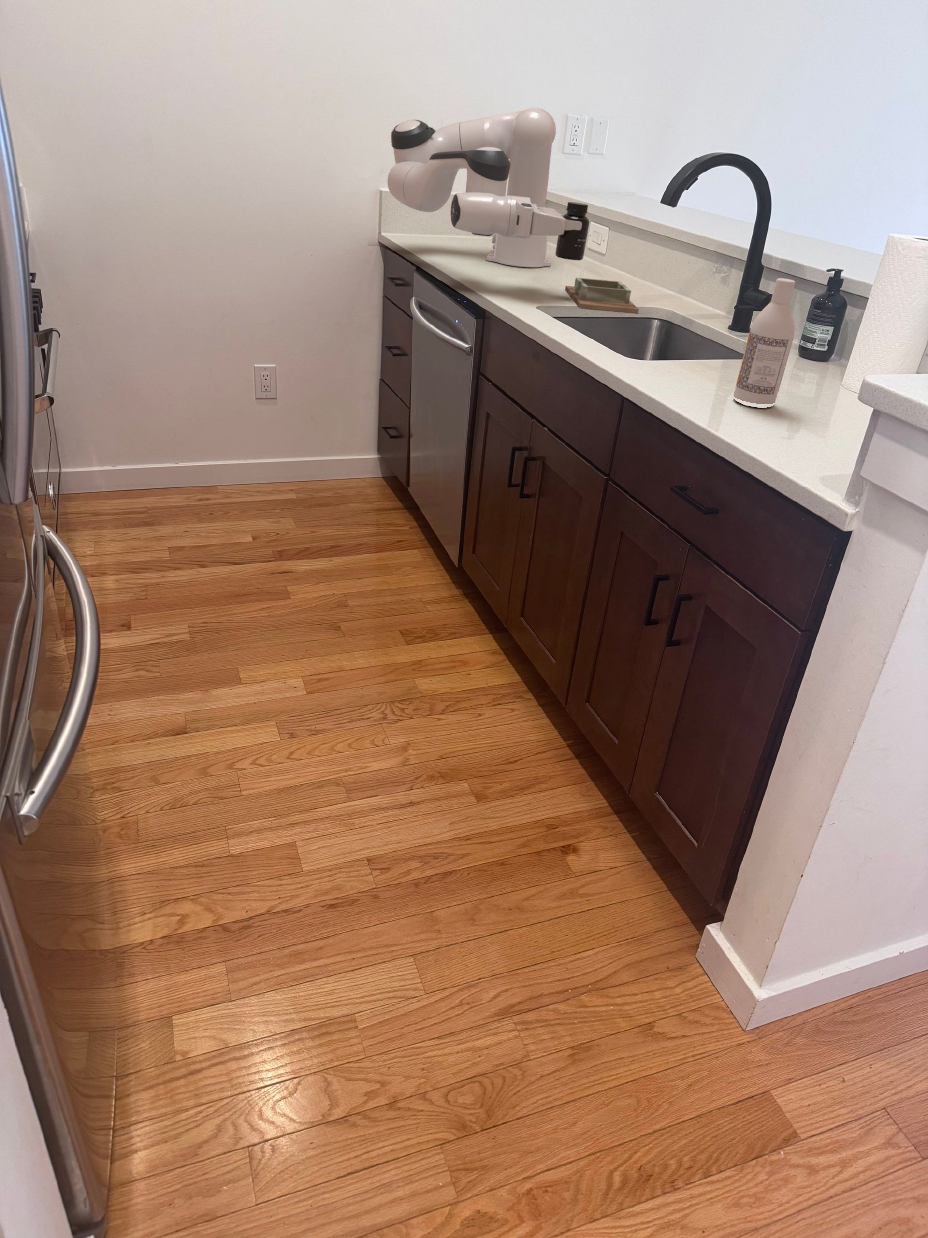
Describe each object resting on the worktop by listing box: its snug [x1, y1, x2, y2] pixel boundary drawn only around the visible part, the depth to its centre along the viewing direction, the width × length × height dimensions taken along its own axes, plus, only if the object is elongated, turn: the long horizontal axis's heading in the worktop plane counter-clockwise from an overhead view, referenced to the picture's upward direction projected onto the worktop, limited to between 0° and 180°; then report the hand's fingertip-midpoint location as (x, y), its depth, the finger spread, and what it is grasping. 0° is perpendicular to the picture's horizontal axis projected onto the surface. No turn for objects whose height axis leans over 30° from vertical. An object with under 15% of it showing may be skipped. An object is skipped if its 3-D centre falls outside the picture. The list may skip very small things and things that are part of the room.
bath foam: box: [733, 277, 796, 404], centre depth 144 cm, size 7×7×20 cm
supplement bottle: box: [554, 201, 590, 261], centre depth 207 cm, size 7×7×12 cm
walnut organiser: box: [564, 277, 640, 314], centre depth 215 cm, size 22×14×4 cm, turn 4°
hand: (578, 223), depth 206 cm, fingers closed on supplement bottle, 7 cm apart
